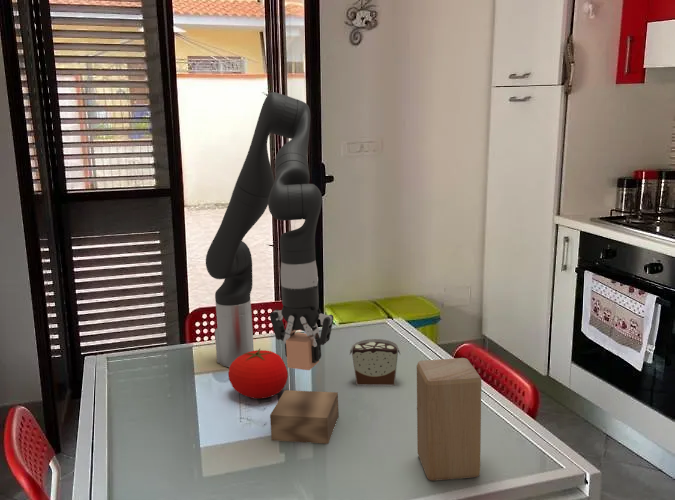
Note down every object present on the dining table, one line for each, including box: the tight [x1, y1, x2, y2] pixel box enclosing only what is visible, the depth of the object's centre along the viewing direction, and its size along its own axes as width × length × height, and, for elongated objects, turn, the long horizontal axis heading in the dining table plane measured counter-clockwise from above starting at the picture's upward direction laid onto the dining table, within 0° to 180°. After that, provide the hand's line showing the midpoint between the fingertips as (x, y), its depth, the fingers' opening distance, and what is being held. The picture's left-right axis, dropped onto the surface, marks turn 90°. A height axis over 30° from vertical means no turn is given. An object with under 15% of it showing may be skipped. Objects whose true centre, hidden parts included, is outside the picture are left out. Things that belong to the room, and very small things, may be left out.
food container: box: [349, 338, 401, 387], centre depth 163 cm, size 12×6×10 cm, turn 84°
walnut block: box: [269, 389, 340, 445], centre depth 141 cm, size 12×12×6 cm
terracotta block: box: [286, 331, 320, 371], centre depth 138 cm, size 5×5×6 cm
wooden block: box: [416, 357, 482, 482], centre depth 122 cm, size 10×10×20 cm
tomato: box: [228, 348, 289, 400], centre depth 158 cm, size 14×13×10 cm
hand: (303, 360), depth 138 cm, fingers closed on terracotta block, 5 cm apart
